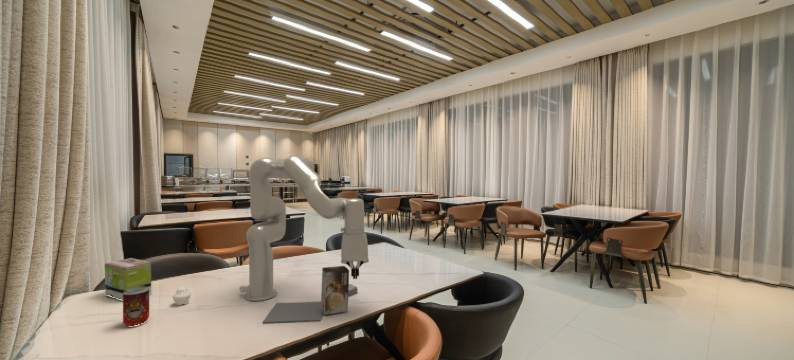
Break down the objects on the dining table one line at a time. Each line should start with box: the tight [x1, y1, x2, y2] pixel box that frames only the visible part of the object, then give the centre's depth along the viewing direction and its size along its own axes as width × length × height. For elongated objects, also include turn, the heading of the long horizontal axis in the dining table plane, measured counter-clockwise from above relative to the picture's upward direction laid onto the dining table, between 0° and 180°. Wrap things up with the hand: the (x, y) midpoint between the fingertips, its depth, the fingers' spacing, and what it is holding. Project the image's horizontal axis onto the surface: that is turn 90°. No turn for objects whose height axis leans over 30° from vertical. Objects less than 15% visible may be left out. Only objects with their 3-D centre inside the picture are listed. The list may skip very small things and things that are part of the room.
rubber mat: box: [262, 301, 324, 324], centre depth 117 cm, size 20×16×1 cm
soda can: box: [122, 286, 150, 327], centre depth 108 cm, size 7×7×12 cm
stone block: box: [348, 283, 358, 298], centre depth 135 cm, size 12×5×10 cm
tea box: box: [104, 257, 152, 300], centre depth 132 cm, size 15×10×15 cm, turn 68°
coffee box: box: [320, 265, 350, 316], centre depth 118 cm, size 9×6×16 cm
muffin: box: [172, 286, 192, 306], centre depth 124 cm, size 6×6×7 cm
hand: (355, 277), depth 119 cm, fingers closed
